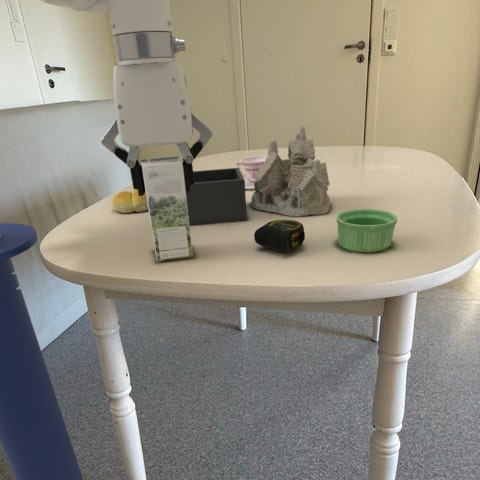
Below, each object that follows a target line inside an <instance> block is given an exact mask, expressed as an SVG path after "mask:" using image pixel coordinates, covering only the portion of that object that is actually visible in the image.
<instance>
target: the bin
mask: <svg viewBox="0 0 480 480" xmlns="http://www.w3.org/2000/svg"><path fill="white" fill-rule="evenodd" d="M239 168H240V167H239ZM239 168H237V167H231V168H217V169H205V170H193V175H194V185H190V192H187V191H186V199H187V208H188V217H189V226H193V225H205V224H216V223H217V224H218V223H228V222H239V221H247V220H248V217H247V216H248V215H247V199H246V197H247V196H246V189H245V180H244V179H245V177H243V176H242V174H241V172H242V171H241V168H240V169H239Z"/></svg>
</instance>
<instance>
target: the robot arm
mask: <svg viewBox="0 0 480 480" xmlns="http://www.w3.org/2000/svg"><path fill="white" fill-rule="evenodd" d="M40 1H42V2H43V3H46V4H48V5H52V6H55V7H62V8H67V9H71V10H74V11H79V12H84V13H87V14H88V13H89V14H90V13H92V14H95V13H97V14H98V13H102V12H103V13H104V12H106V11H108V13H109V18H110V24H111V25H110V26H111V31H112V36H113V42H114V49H115V54H116V61H117V65H114V66H113V69H112V70H113V71H112V73H113V75H112V76H113V77H112V78H113V79H112V81H113V83H112V84H113V97H114V106H115V114H116V116H115V117H116V119H115V120H114V122H113V123H112V124H111V126H110V127H109V129H108V130H107V132H106V133H105V135H104V136H103V137H102V139H101V142H100V143H101V144H102V146H103V147H105V148H106V149H107V150H109V151H110V153H112V154H114V156H115V157H117V159H119V160H120V161H121V162H122V163H124V164H125V165H126V166H127V168H129V171H130V177H131V182H132V187H133V190H137V189H138V194H139V196H143V195H144V194H145V184H144V178H143V171H142V164H140V161H139V156H140V153H141V152H140V151H141V148H142V147H154V146H167V145H176V146H177V149H179V153H180V154H181V156H182V162H181V163H182V165H183V171H184V181H185V190H186V191H187V192H190V185H194V175H193V171H194V167H193V162H194V160H195V159H196V158H197V156H198V155H199V154H200V153H201V152H202V150H203V149H204V148H205V146H206V145H207V144H208V142H209V141H210V140H211V138H213V131H212V130H211V129H210V128H209V127H208V126H207V125H206V124H205V123H204V122H202V121H201V120H200V118H198V117H197V116H196V115H195V114H193V112H192V108H191V101H190V94H189V93H190V92H189V87H188V83H187V78H186V74H185V69H184V66H183V63H182V62H181V61H176V55H178V53H181V52H186V51H187V50H186V43H185V38H179V37H176V36H174V34H173V25H172V24H173V23H172V17H171V5H170V0H40ZM194 129H195V130H196V131H197V132H198V133H199V137H198V138H197V139H196V141H195V142H194V143H193V144H192V146H191V147H190V145H189V144H188V142H189V141H190V140H191V139H192V138H193V134H194ZM118 135H119V140H120V142H121V144H122V145H124V146H126V147H129V150H128V151H127V150H126V149H125V148H124V147H123V146H121V145H119V144H118V143H117V142H116V138H117V136H118ZM0 238H1V235H0Z"/></svg>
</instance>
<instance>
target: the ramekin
mask: <svg viewBox="0 0 480 480" xmlns="http://www.w3.org/2000/svg"><path fill="white" fill-rule="evenodd" d="M335 220H336V224H337V241H338V245H339V246H340V247H341V248H343V249H344V250H348V251H351V252H357V253H376V252H382V251H384V250H386V249H388V248H389V247H390V246H391V245H392V241H393V238H394V237H393V236H394V231H395V226H396V224H397V222H398V216H397V215H396V214H394V213H392V212H391V211H387V210H382V209H376V208H375V209H373V208H358V209H350V210H346V211H342V212H339V213H338V214H337V215H336V217H335Z"/></svg>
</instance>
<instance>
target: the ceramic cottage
mask: <svg viewBox="0 0 480 480" xmlns="http://www.w3.org/2000/svg"><path fill="white" fill-rule="evenodd" d="M305 128H306V127H304V126H300V127H299V128H298V130H299V131H298V132H296V133H295V136H294V139H289V142H288V148H287V151H288V152H287V158H286V159H285V158H284V159H282V158H281V157H280V155H279V149H278V141H277V140H276V139H269V141H268V145H267V156H268V157H267V158H266V159H265V160H266V161H264V164H263V165H262V166H261V167H260V170H259V171H258V172H257V173H256V175H254V176H253V177H254V178H255V180H256V182H255V183H254V186H255V188H254V189H253V190H254V192H253V193H252V196H251V202H250V206H251V208H254V209H255V210H258V211H259V210H260V211H264V212H267V213H268V212H269V213H276V214H279V215H280V214H281V215H284V216H289V217H305V216H310V215H315V216H316V215H324V214H328V212H329V211H330V207H331V204H330V200H331V199H330V196H329V194H328V190H329V186H330V179H329V174H328V168H327V163H326V161H324V162H321V160H320V159H316V155H315V154H316V149H315V145H314V140H313V138H312V139H307V134H306V129H305Z"/></svg>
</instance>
